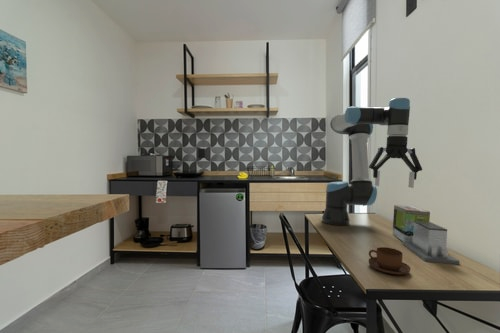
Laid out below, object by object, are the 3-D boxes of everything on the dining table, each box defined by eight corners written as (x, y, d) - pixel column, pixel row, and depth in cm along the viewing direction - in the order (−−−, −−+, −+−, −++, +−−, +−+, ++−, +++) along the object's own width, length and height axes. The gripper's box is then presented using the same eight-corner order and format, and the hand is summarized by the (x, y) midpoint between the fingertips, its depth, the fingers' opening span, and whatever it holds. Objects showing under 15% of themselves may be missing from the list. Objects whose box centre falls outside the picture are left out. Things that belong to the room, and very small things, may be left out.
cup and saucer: (369, 273, 80) (370, 254, 80) (366, 260, 91) (367, 243, 91) (414, 281, 76) (415, 260, 76) (405, 266, 87) (406, 248, 87)
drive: (412, 244, 107) (414, 220, 107) (428, 246, 106) (429, 221, 106) (427, 255, 95) (429, 228, 95) (445, 256, 94) (447, 229, 94)
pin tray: (402, 244, 111) (403, 234, 111) (430, 246, 109) (431, 236, 109) (425, 261, 92) (425, 249, 92) (459, 264, 90) (460, 252, 90)
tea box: (429, 245, 111) (431, 211, 110) (403, 243, 113) (405, 209, 112) (414, 235, 125) (415, 205, 125) (391, 233, 127) (393, 204, 127)
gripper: (369, 134, 105) (365, 186, 107) (434, 136, 102) (430, 189, 103) (363, 135, 113) (360, 183, 114) (424, 137, 110) (420, 186, 111)
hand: (393, 186), depth 109 cm, fingers open, 13 cm apart
